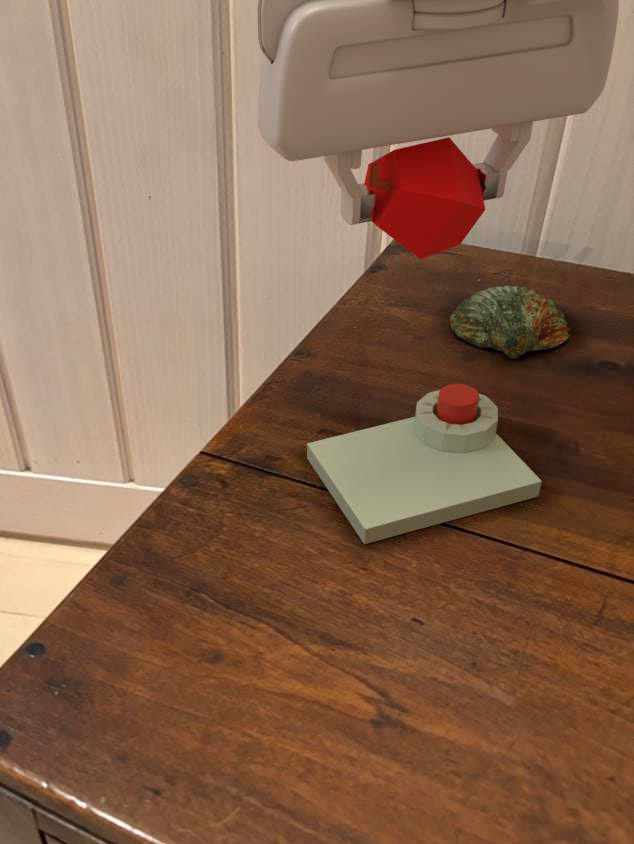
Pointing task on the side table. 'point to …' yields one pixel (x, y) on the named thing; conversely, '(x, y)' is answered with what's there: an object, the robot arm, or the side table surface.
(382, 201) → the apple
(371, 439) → the scale
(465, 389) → the button
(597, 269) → the side table surface
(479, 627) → the side table surface
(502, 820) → the side table surface
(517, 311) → the seashell
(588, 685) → the side table surface
